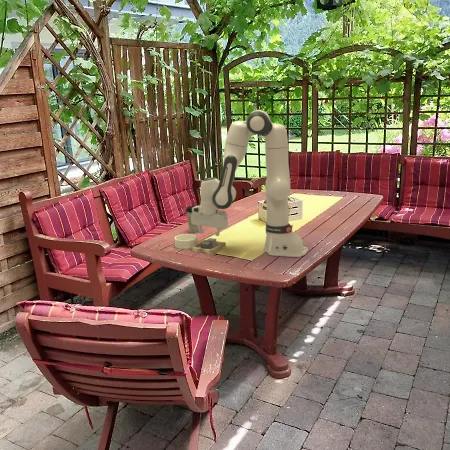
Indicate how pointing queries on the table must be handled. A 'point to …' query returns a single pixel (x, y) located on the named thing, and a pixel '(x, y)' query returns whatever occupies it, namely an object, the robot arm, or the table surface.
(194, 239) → the bowl
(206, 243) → the charcoal cube
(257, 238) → the table surface
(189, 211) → the coffee cup
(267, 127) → the robot arm
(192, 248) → the parts tray
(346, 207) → the table surface
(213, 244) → the taupe cube
